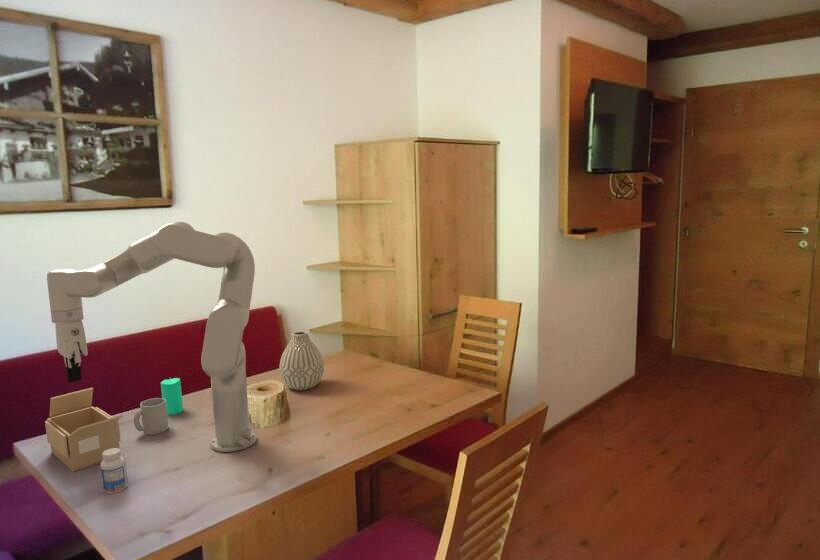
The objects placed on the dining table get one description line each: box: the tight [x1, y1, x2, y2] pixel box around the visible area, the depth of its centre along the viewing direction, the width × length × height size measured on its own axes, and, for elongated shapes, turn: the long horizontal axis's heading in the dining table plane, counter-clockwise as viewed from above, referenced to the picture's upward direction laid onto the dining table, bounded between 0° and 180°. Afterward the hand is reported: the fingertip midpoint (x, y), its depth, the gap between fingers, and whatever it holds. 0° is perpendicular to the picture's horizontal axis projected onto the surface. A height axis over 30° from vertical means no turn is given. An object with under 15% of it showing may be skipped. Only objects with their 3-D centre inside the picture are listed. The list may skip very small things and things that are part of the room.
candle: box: [160, 377, 184, 416], centre depth 199 cm, size 6×6×12 cm
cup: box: [133, 397, 169, 436], centre depth 183 cm, size 7×10×9 cm
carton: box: [44, 405, 122, 472], centre depth 169 cm, size 18×14×10 cm
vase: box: [278, 330, 325, 391], centre depth 218 cm, size 16×16×20 cm
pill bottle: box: [100, 448, 129, 494], centre depth 149 cm, size 6×5×10 cm
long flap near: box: [71, 414, 124, 435], centre depth 159 cm, size 1×11×7 cm
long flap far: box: [49, 387, 94, 418], centre depth 172 cm, size 1×11×7 cm, turn 137°
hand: (74, 380), depth 166 cm, fingers closed
